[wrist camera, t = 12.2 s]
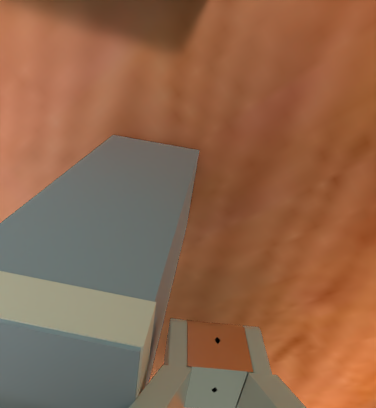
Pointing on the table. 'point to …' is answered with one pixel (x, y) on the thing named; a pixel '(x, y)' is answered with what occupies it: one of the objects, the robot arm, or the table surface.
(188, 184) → the slate-blue block
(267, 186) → the table surface
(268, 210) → the table surface
